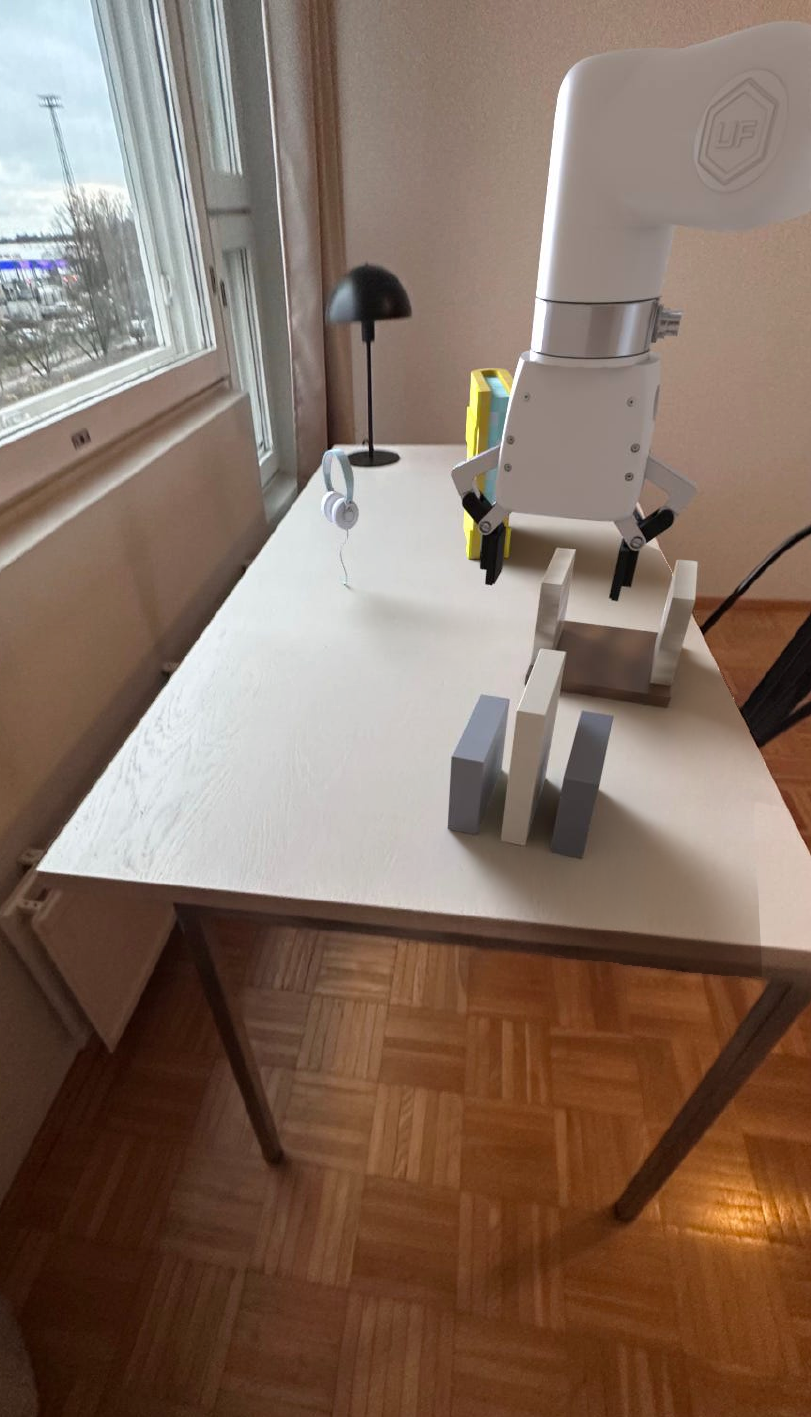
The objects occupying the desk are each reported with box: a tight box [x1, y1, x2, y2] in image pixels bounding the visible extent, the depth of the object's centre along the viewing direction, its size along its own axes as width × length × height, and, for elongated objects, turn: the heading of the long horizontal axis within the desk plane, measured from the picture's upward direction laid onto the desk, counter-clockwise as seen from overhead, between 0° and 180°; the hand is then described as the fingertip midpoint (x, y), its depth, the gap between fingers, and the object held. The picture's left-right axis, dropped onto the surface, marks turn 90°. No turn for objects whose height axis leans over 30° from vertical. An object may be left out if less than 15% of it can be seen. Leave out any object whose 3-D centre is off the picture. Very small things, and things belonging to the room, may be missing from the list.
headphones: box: [320, 448, 360, 585], centre depth 108 cm, size 8×4×20 cm, turn 27°
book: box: [462, 367, 514, 560], centre depth 118 cm, size 17×7×25 cm, turn 179°
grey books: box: [447, 693, 614, 860], centre depth 69 cm, size 13×11×9 cm
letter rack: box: [524, 547, 699, 709], centre depth 88 cm, size 17×16×12 cm
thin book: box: [500, 649, 566, 847], centre depth 67 cm, size 2×11×15 cm, turn 159°
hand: (552, 585), depth 56 cm, fingers open, 9 cm apart
